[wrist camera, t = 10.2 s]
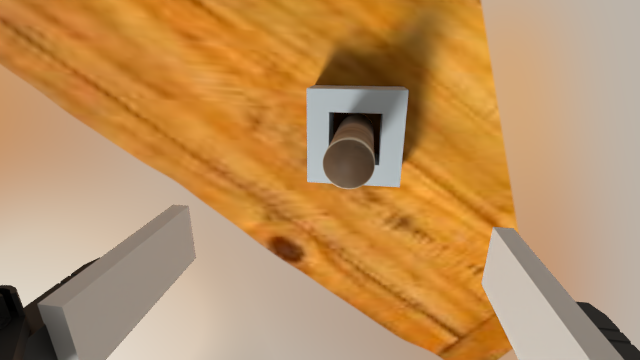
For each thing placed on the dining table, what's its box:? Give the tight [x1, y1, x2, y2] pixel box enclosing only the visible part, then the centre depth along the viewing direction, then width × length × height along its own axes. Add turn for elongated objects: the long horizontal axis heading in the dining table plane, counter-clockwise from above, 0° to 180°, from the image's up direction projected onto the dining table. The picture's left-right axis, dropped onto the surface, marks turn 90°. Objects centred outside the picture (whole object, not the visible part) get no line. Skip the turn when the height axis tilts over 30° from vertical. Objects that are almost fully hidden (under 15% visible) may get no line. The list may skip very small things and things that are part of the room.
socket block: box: [307, 85, 409, 187], centre depth 37 cm, size 10×10×5 cm
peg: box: [323, 113, 375, 189], centre depth 32 cm, size 4×4×14 cm
